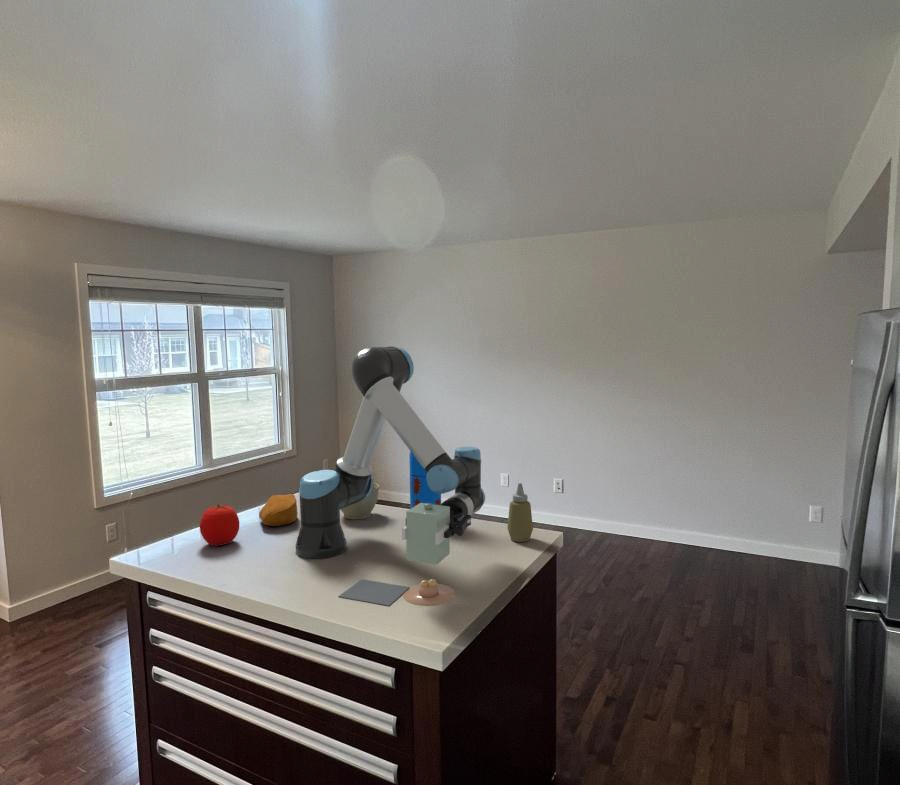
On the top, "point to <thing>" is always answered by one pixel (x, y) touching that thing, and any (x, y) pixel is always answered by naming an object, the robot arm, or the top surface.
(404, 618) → the top surface
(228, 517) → the red apple
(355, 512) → the planter bowl
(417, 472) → the thermos
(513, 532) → the squeeze bottle
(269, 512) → the bread
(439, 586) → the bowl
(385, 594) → the mat
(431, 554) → the cover
